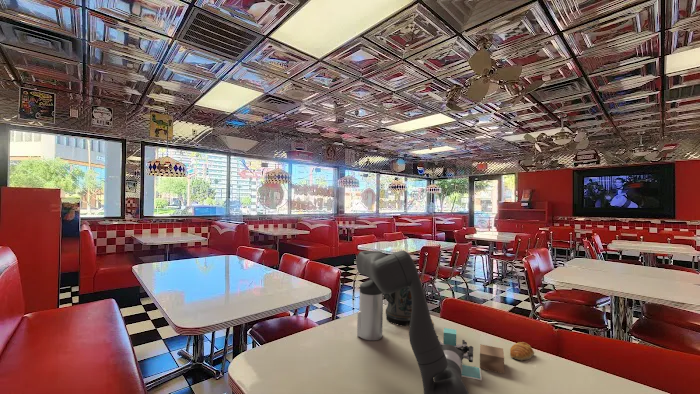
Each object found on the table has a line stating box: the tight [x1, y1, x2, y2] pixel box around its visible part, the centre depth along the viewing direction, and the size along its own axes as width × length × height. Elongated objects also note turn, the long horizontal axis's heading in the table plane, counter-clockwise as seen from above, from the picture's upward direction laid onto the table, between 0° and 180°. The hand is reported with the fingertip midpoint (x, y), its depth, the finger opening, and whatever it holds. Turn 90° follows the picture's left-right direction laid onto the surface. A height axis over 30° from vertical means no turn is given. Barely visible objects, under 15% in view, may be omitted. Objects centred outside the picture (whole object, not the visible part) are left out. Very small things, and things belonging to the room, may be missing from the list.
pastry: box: [509, 341, 535, 362], centre depth 108 cm, size 9×7×4 cm
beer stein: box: [383, 287, 412, 327], centre depth 139 cm, size 16×19×25 cm
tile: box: [462, 364, 483, 381], centre depth 96 cm, size 7×7×1 cm
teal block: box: [442, 327, 457, 346], centre depth 103 cm, size 4×4×10 cm
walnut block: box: [479, 343, 505, 375], centre depth 101 cm, size 7×7×5 cm
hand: (450, 340), depth 105 cm, fingers open, 8 cm apart
